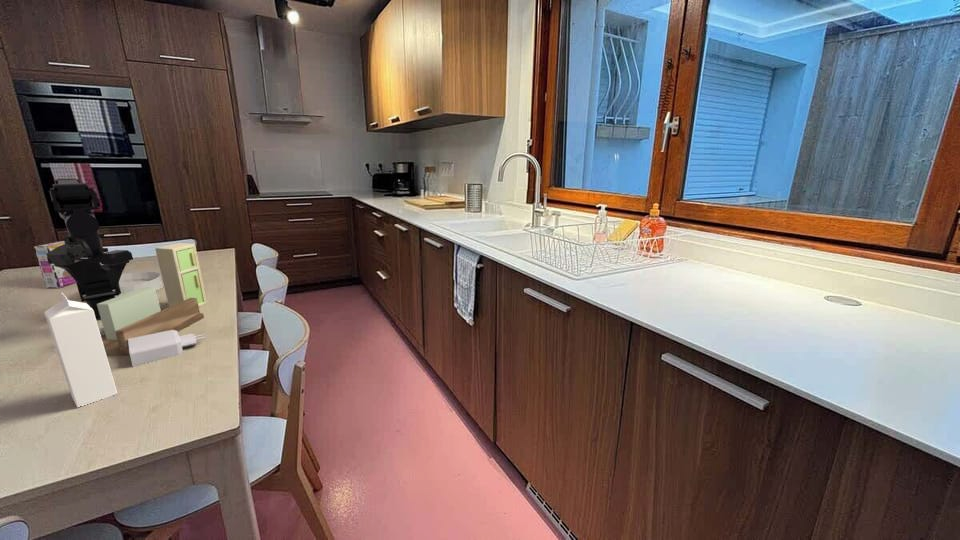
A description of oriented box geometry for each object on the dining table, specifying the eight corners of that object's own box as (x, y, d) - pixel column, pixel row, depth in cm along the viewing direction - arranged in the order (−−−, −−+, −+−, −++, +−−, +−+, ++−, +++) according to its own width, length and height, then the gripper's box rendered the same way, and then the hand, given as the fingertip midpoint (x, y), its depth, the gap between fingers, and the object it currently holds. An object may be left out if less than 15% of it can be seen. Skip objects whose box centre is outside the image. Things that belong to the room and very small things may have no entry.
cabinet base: (72, 353, 97) (64, 329, 95) (154, 316, 120) (149, 297, 118) (133, 355, 96) (126, 331, 94) (204, 317, 119) (199, 298, 117)
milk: (110, 385, 83) (83, 288, 78) (118, 394, 80) (90, 294, 74) (70, 398, 79) (38, 296, 73) (76, 408, 75) (43, 302, 69)
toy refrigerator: (188, 313, 123) (173, 248, 117) (169, 311, 124) (154, 247, 119) (209, 304, 130) (197, 243, 125) (191, 302, 132) (178, 242, 126)
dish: (173, 290, 146) (170, 277, 144) (95, 308, 128) (91, 293, 126) (150, 280, 157) (147, 268, 156) (75, 296, 139) (71, 282, 138)
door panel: (107, 339, 101) (96, 304, 98) (153, 318, 114) (145, 287, 112) (117, 340, 101) (108, 304, 98) (162, 319, 114) (155, 287, 112)
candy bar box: (60, 288, 147) (47, 246, 142) (45, 289, 146) (32, 246, 142) (86, 279, 157) (74, 240, 153) (72, 280, 157) (60, 240, 152)
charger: (209, 350, 101) (133, 369, 91) (203, 338, 107) (131, 354, 97) (206, 334, 99) (128, 351, 89) (200, 322, 106) (127, 337, 96)
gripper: (14, 236, 95) (33, 296, 100) (85, 237, 95) (102, 297, 99) (63, 229, 106) (78, 283, 110) (127, 229, 105) (141, 284, 109)
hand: (99, 286), depth 107 cm, fingers open, 9 cm apart
